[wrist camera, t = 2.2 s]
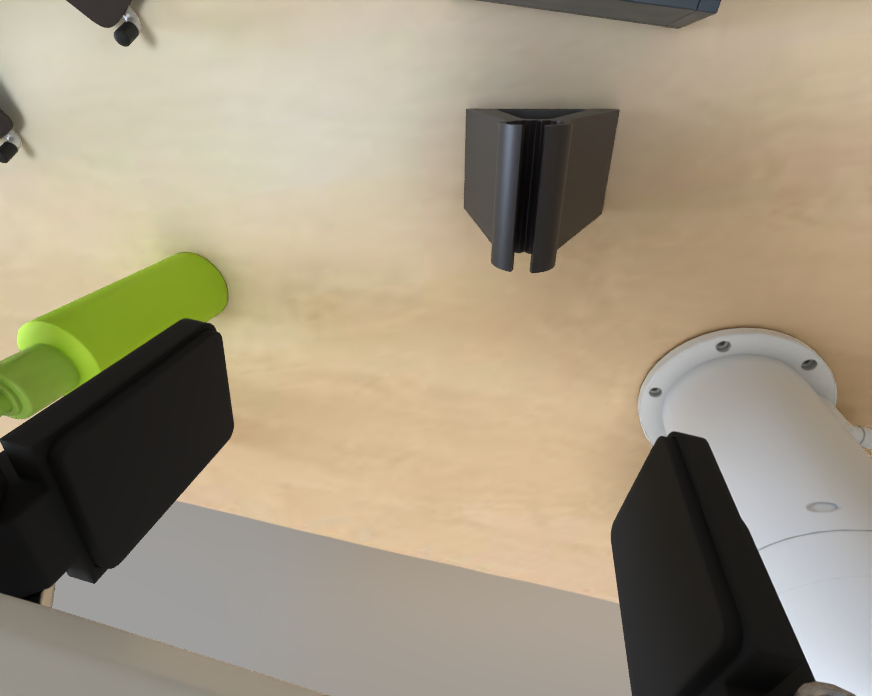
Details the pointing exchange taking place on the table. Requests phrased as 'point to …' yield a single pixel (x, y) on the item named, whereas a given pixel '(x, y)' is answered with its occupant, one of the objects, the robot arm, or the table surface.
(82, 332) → the soap dispenser
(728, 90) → the table surface
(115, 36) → the laptop tray
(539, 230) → the phone stand
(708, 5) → the tote
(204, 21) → the table surface
